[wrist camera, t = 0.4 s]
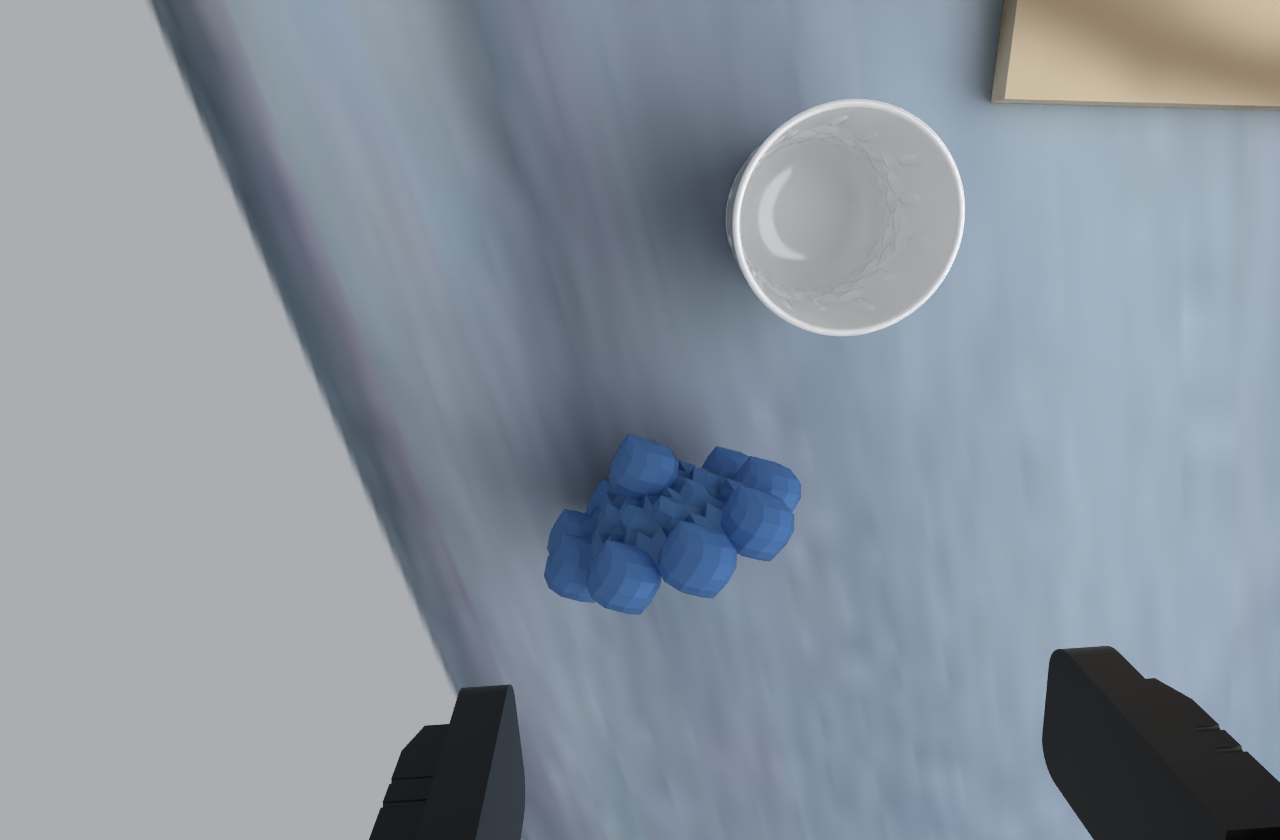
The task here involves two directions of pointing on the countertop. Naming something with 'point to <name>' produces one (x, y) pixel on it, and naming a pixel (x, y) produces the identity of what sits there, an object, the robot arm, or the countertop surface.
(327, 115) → the countertop surface
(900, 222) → the white cup
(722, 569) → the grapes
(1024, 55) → the oak board
